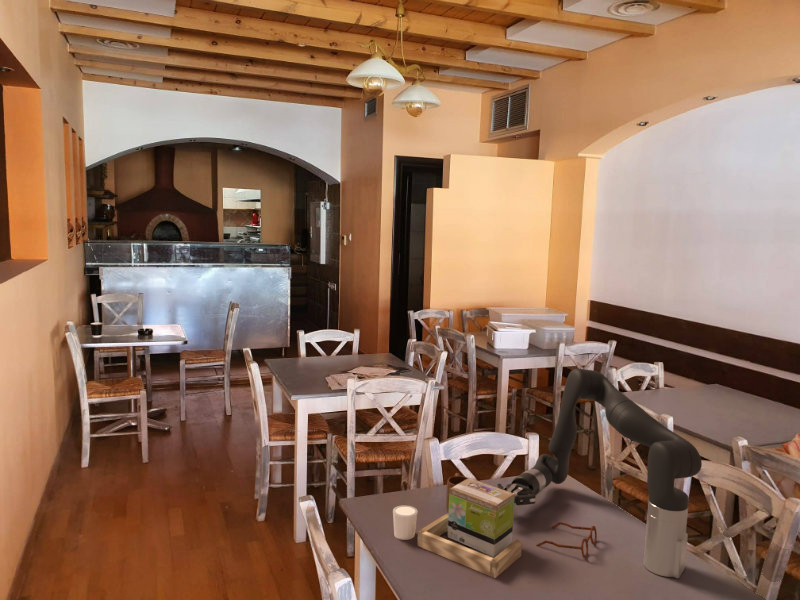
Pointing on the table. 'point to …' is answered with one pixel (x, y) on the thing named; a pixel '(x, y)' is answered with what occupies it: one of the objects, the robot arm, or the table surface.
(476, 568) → the corral
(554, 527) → the glasses
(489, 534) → the tea box
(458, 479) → the mug
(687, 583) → the table surface
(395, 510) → the white cup
